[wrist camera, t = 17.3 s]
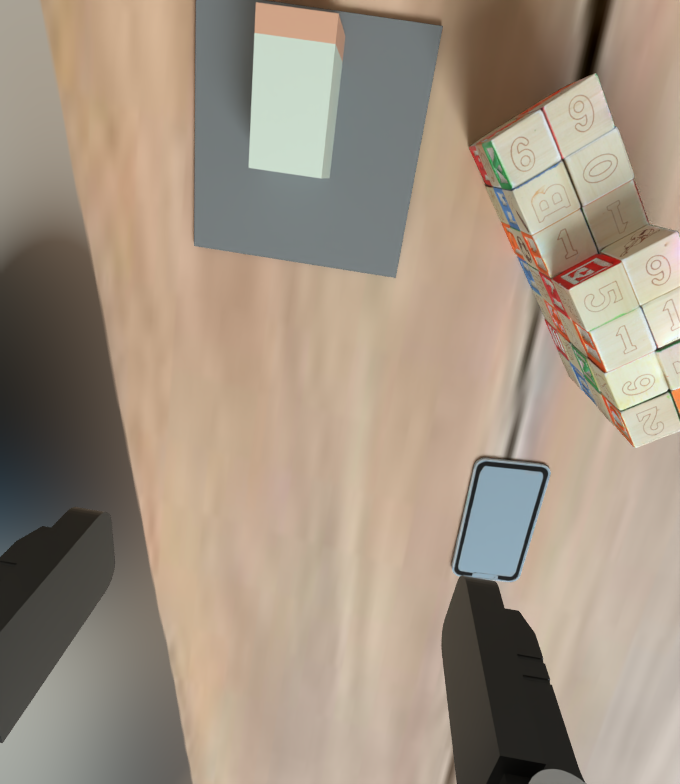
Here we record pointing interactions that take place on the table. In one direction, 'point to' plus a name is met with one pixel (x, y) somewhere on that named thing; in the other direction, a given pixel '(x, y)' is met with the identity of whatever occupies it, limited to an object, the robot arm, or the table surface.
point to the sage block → (295, 89)
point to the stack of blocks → (591, 255)
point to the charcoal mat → (350, 148)
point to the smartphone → (499, 518)
